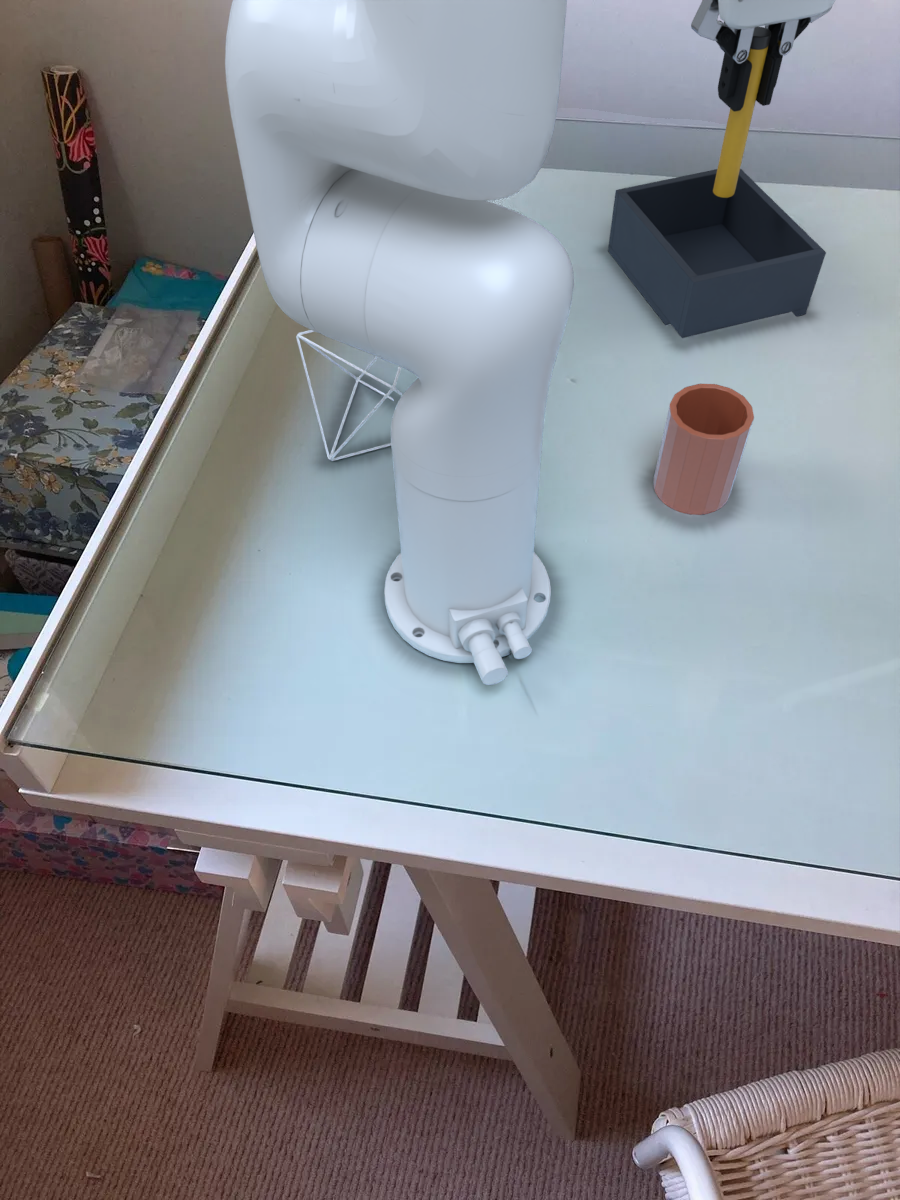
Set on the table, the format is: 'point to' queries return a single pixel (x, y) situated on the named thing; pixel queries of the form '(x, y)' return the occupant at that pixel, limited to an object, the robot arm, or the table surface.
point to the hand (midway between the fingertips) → (743, 99)
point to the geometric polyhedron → (393, 388)
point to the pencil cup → (702, 448)
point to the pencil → (741, 120)
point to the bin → (712, 252)
